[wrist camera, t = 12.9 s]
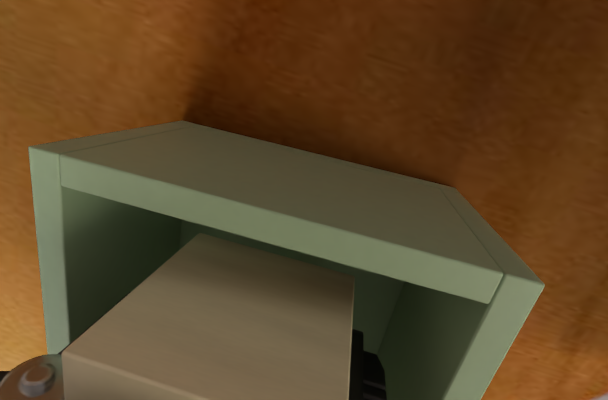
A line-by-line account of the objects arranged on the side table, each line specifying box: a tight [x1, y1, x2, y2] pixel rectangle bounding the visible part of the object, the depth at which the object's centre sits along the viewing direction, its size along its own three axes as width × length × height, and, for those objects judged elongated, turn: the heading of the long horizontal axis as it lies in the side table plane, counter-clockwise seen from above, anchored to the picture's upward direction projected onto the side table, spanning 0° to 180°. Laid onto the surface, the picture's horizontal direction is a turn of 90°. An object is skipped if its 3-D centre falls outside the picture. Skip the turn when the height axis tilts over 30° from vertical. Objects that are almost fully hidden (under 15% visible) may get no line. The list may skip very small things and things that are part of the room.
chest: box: [28, 121, 545, 400], centre depth 12 cm, size 11×12×7 cm
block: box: [61, 233, 355, 400], centre depth 8 cm, size 5×5×5 cm
